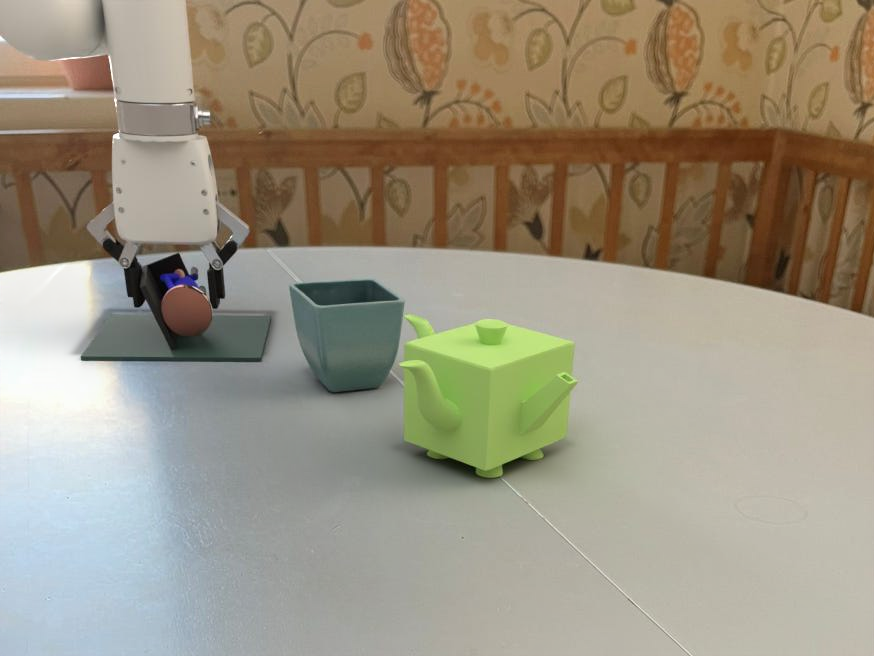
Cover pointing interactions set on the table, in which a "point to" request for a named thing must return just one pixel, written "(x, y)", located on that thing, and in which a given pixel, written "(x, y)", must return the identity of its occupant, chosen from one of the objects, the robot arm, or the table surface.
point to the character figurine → (176, 298)
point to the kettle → (486, 392)
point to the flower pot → (348, 330)
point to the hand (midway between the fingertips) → (177, 303)
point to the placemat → (179, 340)
